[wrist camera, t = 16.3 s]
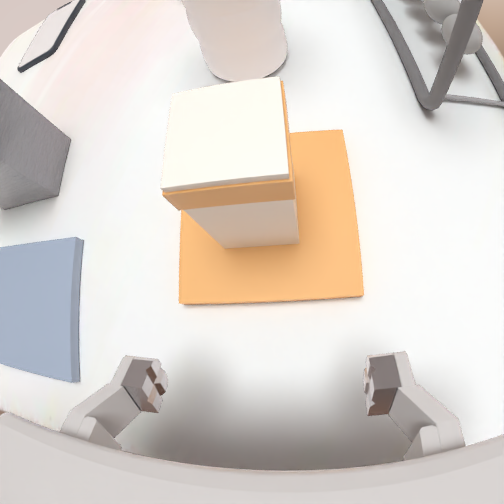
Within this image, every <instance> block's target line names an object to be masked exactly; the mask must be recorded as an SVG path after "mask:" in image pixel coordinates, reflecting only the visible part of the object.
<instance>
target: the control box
mask: <svg viewBox="0 0 504 504" xmlns="http://www.w3.org/2000/svg"><path fill="white" fill-rule="evenodd" d="M70 142H71V139H70V138H69V137H68V136H66V135H65V134H64V133H63V132H62V131H60V130H59V129H58V128H57V127H56V126H54V125H53V124H52V123H51V122H50V121H49V120H47V119H46V118H45V117H44V116H43V115H42V114H40V113H39V112H38V111H37V110H36V109H34V108H33V107H32V106H31V105H30V104H29V103H27V102H26V101H25V100H24V99H23V98H22V97H21V96H19V95H18V94H17V93H16V92H15V91H14V90H12V89H11V88H10V87H9V86H8V85H7V84H6V83H4V82H3V81H2V80H1V79H0V208H1V209H4V210H6V209H9V208H13V207H16V206H20V205H24V204H27V203H31V202H35V201H39V200H43V199H47V198H51V197H55V196H58V194H59V189H60V184H61V179H62V175H63V170H64V166H65V162H66V157H67V153H68V149H69V146H70Z"/></svg>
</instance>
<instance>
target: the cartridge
mask: <svg viewBox="0 0 504 504" xmlns="http://www.w3.org/2000/svg"><path fill="white" fill-rule="evenodd" d="M161 189H162V190H163V194H162V196H163V197H165V198H166V199H167V200H168V201H169V202H170V203H171V204H172V205H173V206H174V207H175V208H177V209H178V210H184V211H185V212H186V213H187V214H188V215H189V216H190V217H191V218H192V219H193V220H194V221H196V222H197V223H198V224H199V225H200V226H201V227H202V228H203V229H204V230H205V231H206V232H207V233H208V234H209V235H210V236H212V237H213V238H214V239H215V240H216V241H217V242H218V243H219V244H220V245H221V246H222V247H223V248H224V249H228V248H243V247H257V246H272V245H287V244H299V228H298V214H297V201H296V188H295V176H294V168H293V161H292V153H291V144H290V133H289V123H288V114H287V104H286V98H285V91H284V85H283V81H280V76H277V77H268V78H259V79H252V80H244V81H237V82H231V83H225V84H219V85H213V86H208V87H202V88H197V89H192V90H187V91H183V92H178V93H174V94H172V98H171V104H170V111H169V118H168V125H167V133H166V141H165V149H164V158H163V167H162V177H161Z"/></svg>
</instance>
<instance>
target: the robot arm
mask: <svg viewBox="0 0 504 504" xmlns="http://www.w3.org/2000/svg"><path fill="white" fill-rule="evenodd" d="M160 367H161V363H160V361H159V359H154V358H144V357H135V356H125V357H123V359H122V361H121V363H120V365H119V367H118V369H117V371H116V373H115V375H114V377H113V379H112V381H111V383H110V384H106V385H105V386H104V387H102V388H101V389H99V390H98V391H97V392H95V393H94V394H93V395H91V396H90V397H88V398H87V399H86V400H84V401H83V402H81V403H80V404H79V405H77V406H76V407H75V408H73V409H72V410H70V412H69V414H68V416H67V418H66V420H65V422H64V424H63V426H62V428H61V430H60V432H57V431H54V430H52V429H49V428H46V427H44V426H41V425H38V424H36V423H33V422H31V421H29V420H26V419H24V418H21V417H19V416H17V415H15V414H12V413H9V412H6V413H3V414H1V415H0V504H504V434H503V435H500V436H497V437H494V438H491V439H488V440H485V441H482V442H479V443H475V444H472V445H469V446H465V442H464V438H463V434H462V430H461V427H460V423H459V419H458V418H457V417H456V416H455V415H454V414H452V413H451V412H450V411H449V410H448V409H447V408H446V407H444V406H443V405H442V404H441V403H440V402H439V401H438V400H436V399H435V398H434V397H433V396H432V395H431V394H430V393H428V392H427V391H426V390H425V389H424V388H423V387H421V386H420V385H416V384H415V380H414V377H413V373H412V369H411V366H410V362H409V359H408V355H407V353H406V352H405V351H404V352H396V353H386V354H377V355H368V356H367V357H366V368H365V369H364V375H363V384H364V392H365V393H366V394H367V398H366V409H367V416H372V415H382V414H389V416H390V417H391V418H392V420H393V421H394V422H395V423H396V424H397V426H398V427H399V428H400V429H401V430H402V431H403V433H404V434H405V435H406V436H407V437H408V439H409V440H410V441H411V442H412V444H411V446H410V447H409V449H408V450H407V452H406V453H405V455H404V456H403V459H404V461H398V462H392V463H385V464H378V465H371V466H362V467H352V468H341V469H326V470H298V471H276V470H248V469H233V468H221V467H211V466H202V465H195V464H187V463H181V462H174V461H168V460H163V459H157V458H152V457H147V456H142V455H137V454H133V453H129V452H124V451H121V448H122V447H121V445H120V444H119V443H118V442H117V441H116V440H115V439H114V438H115V437H116V436H117V435H118V434H119V433H120V432H121V431H122V430H123V429H124V428H125V427H126V426H127V425H128V424H129V423H130V422H131V421H132V420H133V419H134V418H135V417H136V416H137V415H138V414H139V413H140V412H141V411H146V412H154V413H159V410H160V407H161V404H162V401H163V400H162V397H161V395H163V394H164V393H165V392H166V389H167V386H168V378H167V374H166V372H165V371H164V370H163V369H161V368H160Z"/></svg>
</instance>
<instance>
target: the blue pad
mask: <svg viewBox="0 0 504 504" xmlns="http://www.w3.org/2000/svg"><path fill="white" fill-rule="evenodd" d="M83 241H84V240H81V239H79V238H77V237H72V238H65V239H57V240H49V241H42V242H35V243H28V244H21V245H14V246H7V247H0V364H3V365H7V366H10V367H13V368H17V369H20V370H24V371H27V372H31V373H35V374H38V375H42V376H46V377H50V378H54V379H59V380H63V381H67V382H78V381H80V373H79V293H80V275H81V262H82V251H83Z"/></svg>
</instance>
